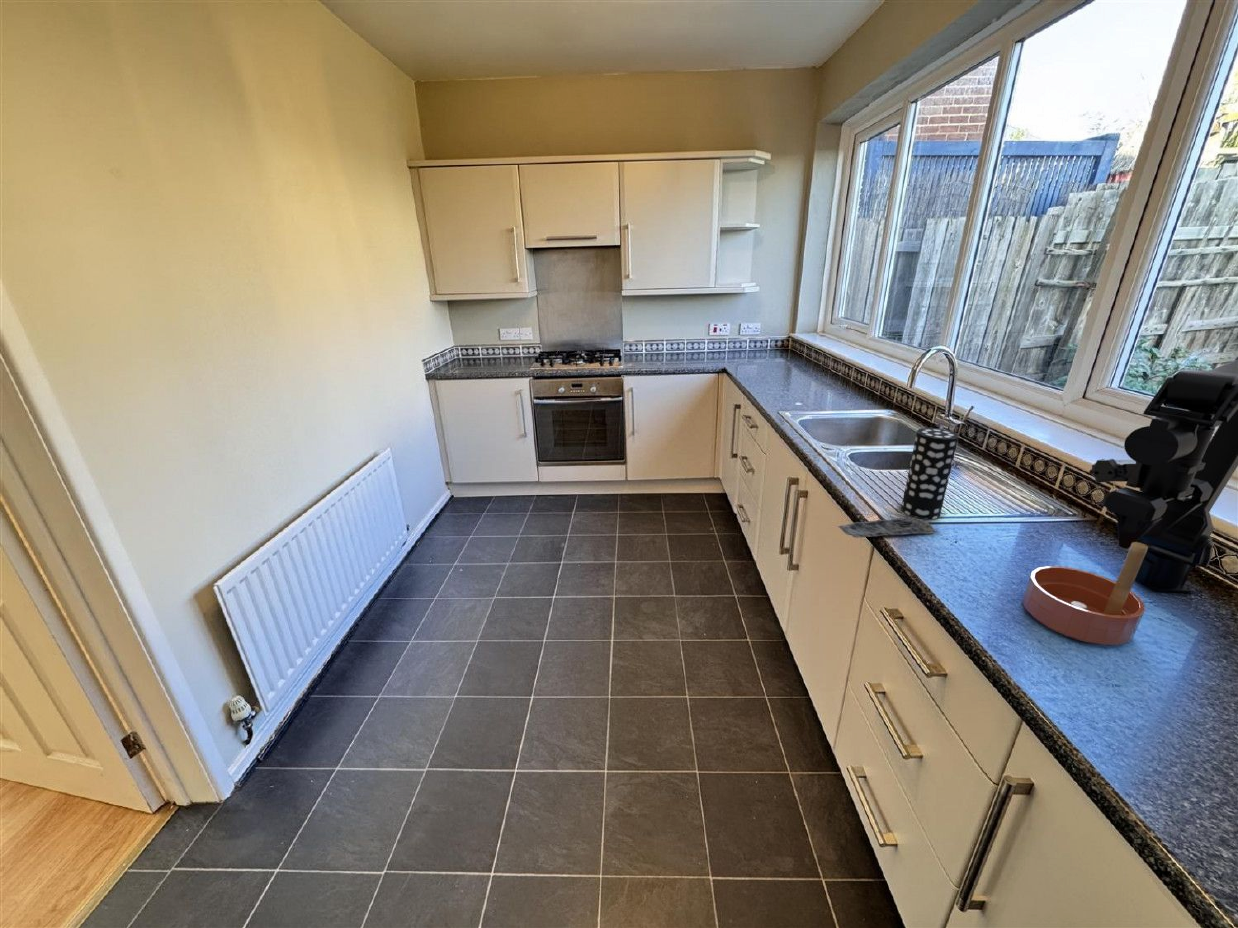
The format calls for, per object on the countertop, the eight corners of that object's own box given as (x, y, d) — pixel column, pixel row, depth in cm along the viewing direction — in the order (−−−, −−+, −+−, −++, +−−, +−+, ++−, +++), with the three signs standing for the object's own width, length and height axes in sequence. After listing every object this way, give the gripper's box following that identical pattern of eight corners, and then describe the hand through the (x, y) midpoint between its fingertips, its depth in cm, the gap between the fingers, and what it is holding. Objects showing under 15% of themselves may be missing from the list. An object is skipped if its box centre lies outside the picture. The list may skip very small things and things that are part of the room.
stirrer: (1040, 601, 89) (1067, 524, 83) (1045, 597, 90) (1072, 521, 84) (1111, 632, 81) (1145, 549, 76) (1115, 627, 82) (1150, 545, 77)
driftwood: (920, 520, 119) (922, 512, 118) (940, 535, 113) (942, 526, 112) (836, 527, 117) (837, 519, 117) (851, 542, 111) (852, 533, 110)
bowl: (1086, 595, 92) (1097, 567, 90) (1156, 650, 79) (1171, 619, 77) (1003, 592, 93) (1011, 564, 91) (1058, 646, 80) (1070, 615, 78)
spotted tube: (919, 501, 128) (935, 426, 121) (948, 515, 121) (968, 436, 114) (893, 506, 126) (908, 430, 119) (921, 521, 119) (939, 441, 111)
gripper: (1140, 431, 89) (1110, 511, 94) (1079, 446, 82) (1049, 531, 88) (1232, 450, 79) (1191, 538, 85) (1171, 470, 72) (1131, 563, 78)
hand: (1138, 541), depth 84 cm, fingers open, 9 cm apart
